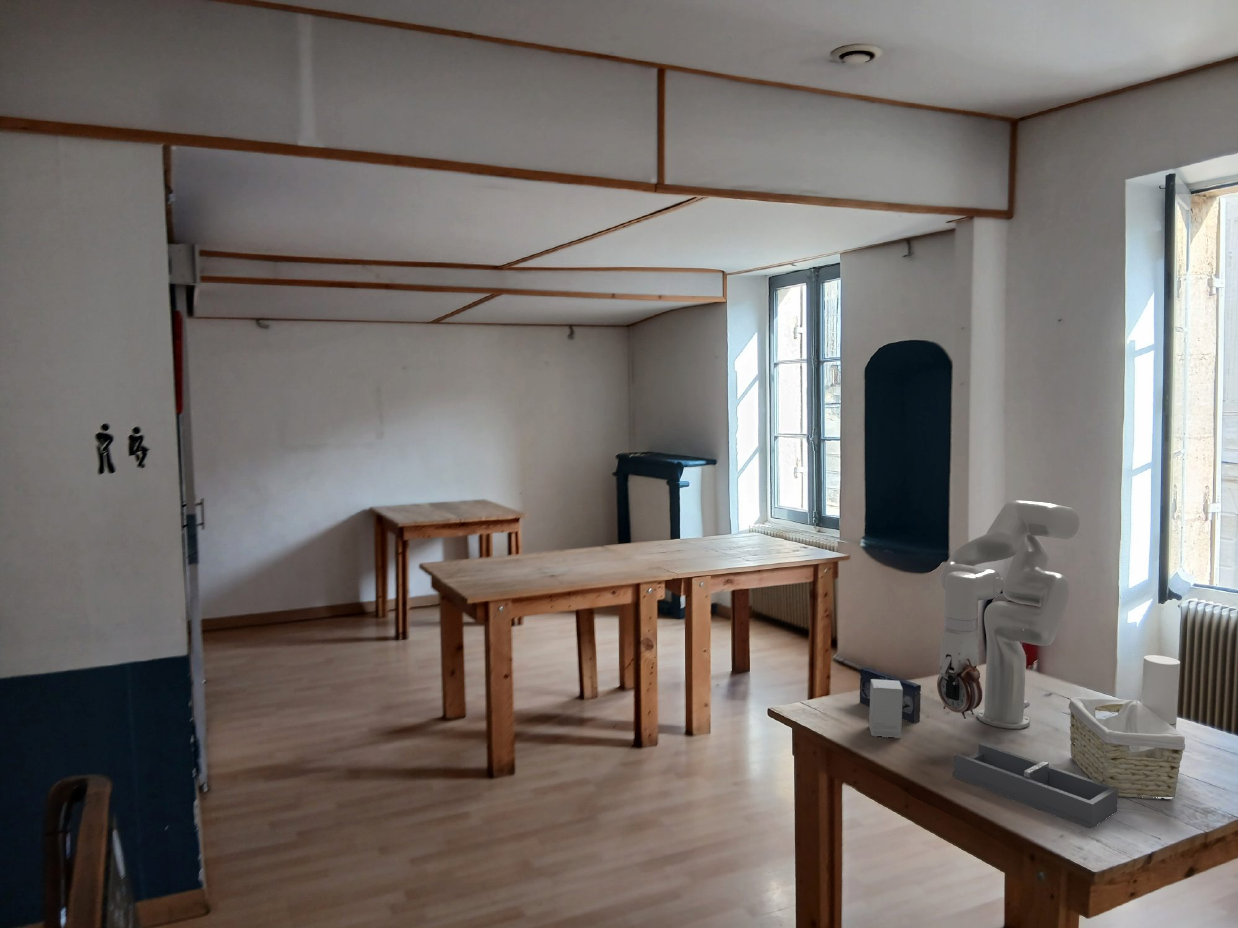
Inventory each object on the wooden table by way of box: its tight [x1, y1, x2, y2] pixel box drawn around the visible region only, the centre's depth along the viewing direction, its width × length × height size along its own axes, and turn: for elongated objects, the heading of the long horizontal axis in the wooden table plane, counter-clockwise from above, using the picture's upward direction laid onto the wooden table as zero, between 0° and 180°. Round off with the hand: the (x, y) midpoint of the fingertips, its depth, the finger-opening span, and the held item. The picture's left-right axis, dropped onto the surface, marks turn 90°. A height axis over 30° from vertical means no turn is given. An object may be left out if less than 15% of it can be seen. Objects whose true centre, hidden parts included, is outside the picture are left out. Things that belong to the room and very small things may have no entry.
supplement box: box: [868, 679, 903, 739], centre depth 224 cm, size 7×7×13 cm
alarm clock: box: [936, 658, 983, 719], centre depth 215 cm, size 11×5×15 cm, turn 25°
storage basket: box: [1068, 696, 1186, 799], centre depth 198 cm, size 24×16×15 cm
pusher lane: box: [952, 742, 1119, 830], centre depth 190 cm, size 12×30×5 cm, turn 38°
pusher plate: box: [1024, 761, 1050, 785], centre depth 190 cm, size 8×1×5 cm, turn 128°
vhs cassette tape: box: [859, 667, 922, 724], centre depth 238 cm, size 18×3×10 cm, turn 33°
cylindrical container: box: [1140, 654, 1181, 730], centre depth 205 cm, size 7×7×25 cm
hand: (959, 694), depth 215 cm, fingers closed on alarm clock, 5 cm apart
